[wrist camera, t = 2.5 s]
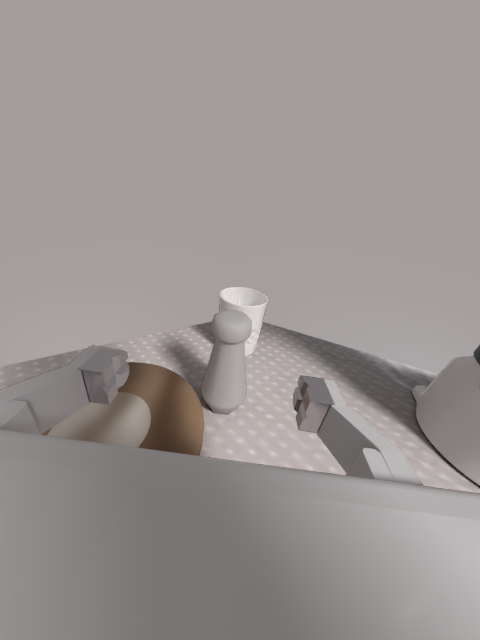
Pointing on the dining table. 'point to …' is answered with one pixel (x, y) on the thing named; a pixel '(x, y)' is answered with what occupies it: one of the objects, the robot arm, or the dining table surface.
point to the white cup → (246, 309)
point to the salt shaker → (227, 362)
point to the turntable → (142, 414)
